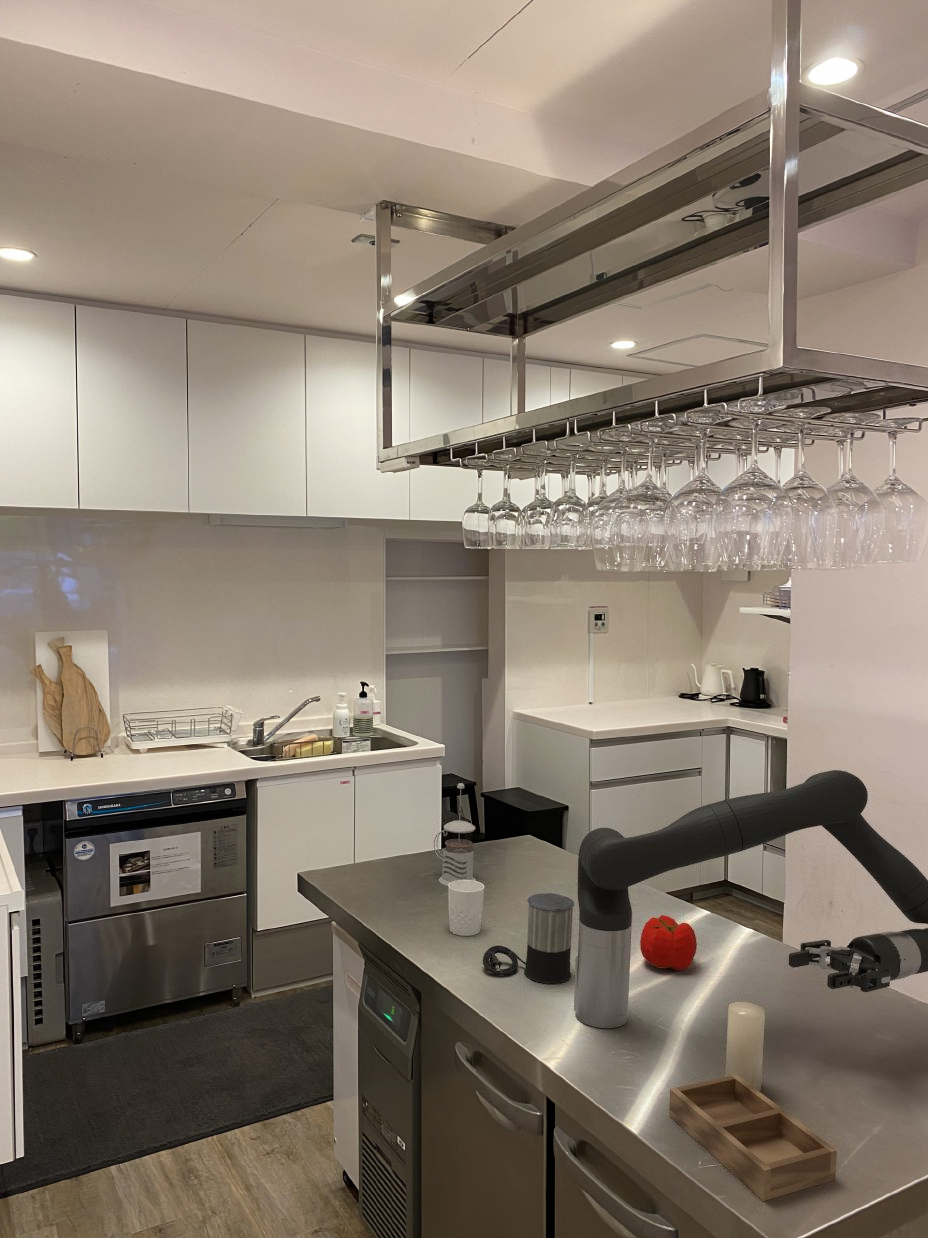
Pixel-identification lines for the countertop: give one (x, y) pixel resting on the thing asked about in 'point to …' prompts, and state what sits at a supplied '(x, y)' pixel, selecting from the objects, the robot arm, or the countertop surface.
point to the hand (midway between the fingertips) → (809, 971)
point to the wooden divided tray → (753, 1136)
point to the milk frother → (541, 941)
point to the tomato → (668, 943)
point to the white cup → (465, 907)
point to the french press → (459, 870)
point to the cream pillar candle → (745, 1042)
